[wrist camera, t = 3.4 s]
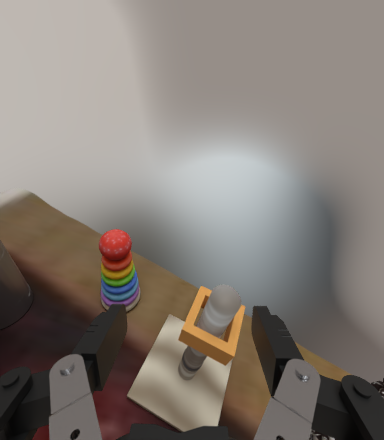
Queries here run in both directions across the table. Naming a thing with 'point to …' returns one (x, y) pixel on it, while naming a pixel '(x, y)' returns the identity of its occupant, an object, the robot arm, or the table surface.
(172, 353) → the post stand
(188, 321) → the collar
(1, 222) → the table surface
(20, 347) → the table surface
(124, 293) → the stacking toy
